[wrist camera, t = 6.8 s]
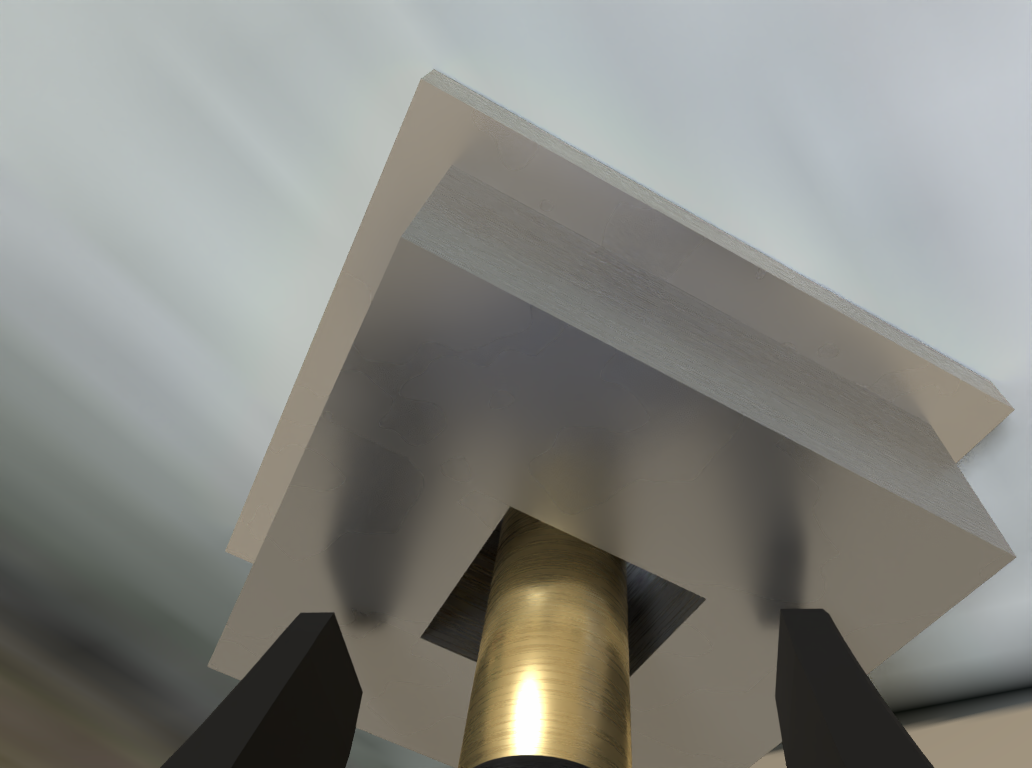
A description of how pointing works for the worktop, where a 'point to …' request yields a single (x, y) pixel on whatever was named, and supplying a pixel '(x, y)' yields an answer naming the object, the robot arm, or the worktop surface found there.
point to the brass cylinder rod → (551, 656)
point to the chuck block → (599, 444)
